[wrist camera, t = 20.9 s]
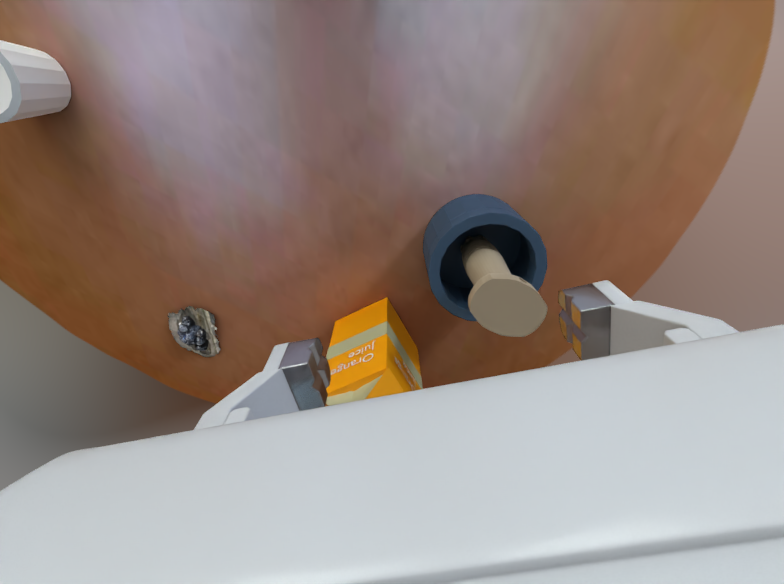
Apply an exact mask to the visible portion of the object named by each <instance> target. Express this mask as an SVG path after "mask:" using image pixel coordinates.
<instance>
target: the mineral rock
mask: <svg viewBox="0 0 784 584" xmlns="http://www.w3.org/2000/svg"><path fill="white" fill-rule="evenodd" d="M169 315H170V316H168V317H169V318H170V320H169V326H170V328H169V329H170V330H171V331H172V333H171V334H173V335H174V336H173V337H174V339H175V340H176V341H177V343H178V344H179V345H181V346H180V347H183V348H187V350H188V351H189V350H193V352H195V353H198V354H200V355H202V356H204V357H212V356H215V354H218V353H219V351H220V348H219V347H218V343H219V341H218V339H216V338H215V336H214V335H216V334H215V332H214V331H215V330H217V328H216V327H214V326H215V324H214V323H215V318H214V315H212V313H210V312H209V311H205V310H203V309H202V308H201V309H200V308H197V309H196V310H195V309H194V308H193V307H191V306H189V307H186V309H185V310H182V309H181V310H179V312H178V314H175V313H172V314H171V313H169ZM214 329H215V330H214ZM177 334H178V335H177ZM216 336H217V335H216Z"/></svg>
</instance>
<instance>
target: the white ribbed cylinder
mask: <svg viewBox="0 0 784 584" xmlns="http://www.w3.org/2000/svg"><path fill="white" fill-rule="evenodd" d="M70 98H71V84H70V82H69V79H68V77H67V74H66V72H65V71H64V69H63V68H62V67H61V66H60V64H59V63H58V62H57V61H56V60H55V59H54V58H52V57H51V56H50V55H48V54H47V53H45V52H43V51H39V50H36V49H33V48H29V47H25V46H21V45H17V44H13V43H9V42H5V41H1V40H0V123H3V122H9V121H14V120H19V119H24V118H30V117H35V116H40V115H45V114H50V113H55V112H60V111H61V110H63V109H64V108H65V107H67V106H68V103H69V101H70Z"/></svg>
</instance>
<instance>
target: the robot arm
mask: <svg viewBox="0 0 784 584" xmlns="http://www.w3.org/2000/svg"><path fill="white" fill-rule="evenodd" d="M558 303H559V304H560V306H561V307H562V308H563V309H562V311H561V312H560V314H559V323H560V327H561V331H562V334H563V336H564V338H565V339H566V340H567V342H570V343H572V344H573V350H574V351H575V353H576V354H577V356H578V357H579V358H580V360H581V361H577V362H571V363H565V364H560V365H554V366H549V367H543V368H538V369H532V370H526V371H521V372H515V373H510V374H504V375H499V376H493V377H487V378H482V379H476V380H471V381H465V382H460V383H454V384H448V385H443V386H437V387H432V388H426V389H420V390H415V391H409V392H404V393H398V394H392V395H387V396H381V397H376V398H370V399H364V400H359V401H353V402H348V403H342V404H336V405H331V406H325V405H326V400H327V396H328V393H327V390H326V388H327V387H328V386H329V385H330V381H331V373H330V367H329V363H328V360H327V358H325V357H324V356H322V351H323V346H322V344H321V341H320V340H319V339H318V338H313V339H307V340H301V341H296V342H291V343H284V344H280V345H276V346H274V348H273V350H272V353H271V355H270V357H269V359H268V361H267V363H266V365H265V368H264V370H263V372H260V373H257V374H256V375H255V376H253V377H252V378H251V379H249V380H248V381H247V382H245V383H244V384H243V385H241V386H240V387H239V388H237V389H236V390H235V391H233V392H232V393H231V394H229V395H228V396H227V397H225V398H224V399H223V400H221V401H220V402H219V403H217V404H216V405H215V406H213V407H212V408H211V409H209V410H208V411H207V412H205V413H204V414H203V416H202V417H201V419H200V420H199V422H198V424H197V426H196V428H195V429H194V430H192V431H186V432H181V433H175V434H170V435H164V436H158V437H153V438H148V439H142V440H136V441H130V442H125V443H119V444H114V445H109V446H103V447H96V448H90V449H84V450H78V451H73V452H69V453H66V454H64V455H62V456H60V457H57V458H55V459H54V460H52V461H50V462H48V463H46V464H45V465H43V466H41V467H39V468H37V469H36V470H34V471H32V472H31V473H29V474H27V475H26V476H24V477H22V478H21V479H19V480H17V481H16V482H14V483H13V484H11V485H9V486H7V487H6V488H4V489H3V490H2V491H0V584H784V324H782V325H777V326H771V327H766V328H760V329H755V330H749V331H743V332H738V331H737V330H735V329H734V328H732V327H731V326H730V325H728V324H726V323H725V322H724V321H722V320H720V319H716V318H712V317H707V316H703V315H699V314H694V313H690V312H686V311H682V310H677V309H673V308H669V307H664V306H660V305H656V304H651V303H647V302H643V301H632V300H631V299H630V298H629V297H628V296H626V295H625V294H624V293H623V292H622V291H620V290H619V289H618V288H617V287H616V286H614V285H613V284H612V283H611V282H610V281H607V280H604V281H600V282H596V283H591V284H587V285H582V286H577V287H573V288H568V289H564V290H560V291H559V293H558Z"/></svg>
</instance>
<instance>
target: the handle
mask: <svg viewBox="0 0 784 584" xmlns="http://www.w3.org/2000/svg"><path fill="white" fill-rule="evenodd" d="M460 251H461V253H462V261H463V265H464V268H465V271H466V273H467V275H468V277H469V278H470V280H471V282H472V283H473V285H474V286H473V288H472V290H471V291H470V294H469V297H468V307H469V310H470V312H471V313H472V314H473V316H474V317H475V318H476V320H477V321H478V322H479V323H480V324H481V325H482V326H483V327H485V328H486V329H488V330H490V331H492V332H495V333H497V334H499V335H502V336H513V337H524V336H527V335H529V334H530V333H532V332H533V331H535V330H536V329H537V328H538V327H539V326H540V325H541V323H542V322H543V320H544V318H545V316H546V313H547V305H546V304H545V302H544V300H543V299H542V297H541V296H540V295H539V293H538V292H537V291H536V289H535V288H534V287H533V286H532V285H531V284H530V283H528V282H527V281H525V280H524V279H522V278H520V277H518V276H515V275H511V273H510V271H509V269H508V267H507V265H506V263H505V261H504V259H503V257H502V255H501V254H500V253H499V251H498V250H497V249H496V248H495V247H494V246H493V245H492V244H491V243H490V242H489V241H487V239H486V238H485V237H483V236H481V235H479V236H476V237H471V236H468V237H466V240H465V242H464V244H463V245H461V248H460Z"/></svg>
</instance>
